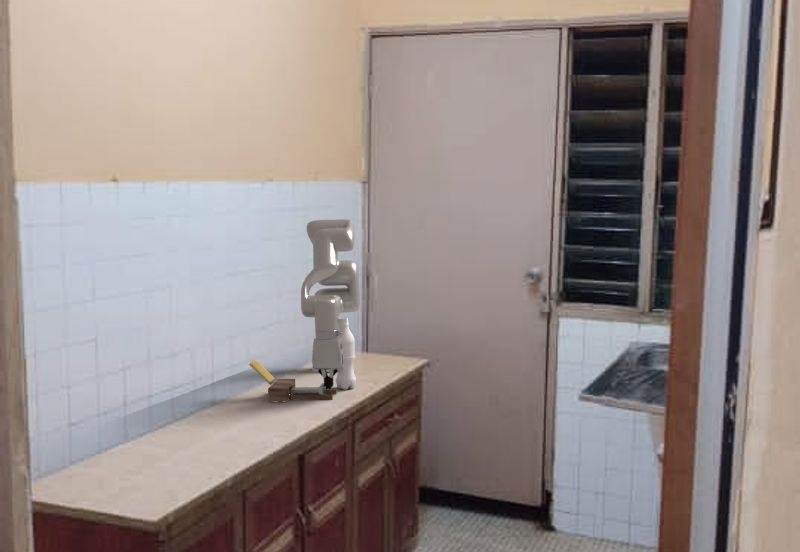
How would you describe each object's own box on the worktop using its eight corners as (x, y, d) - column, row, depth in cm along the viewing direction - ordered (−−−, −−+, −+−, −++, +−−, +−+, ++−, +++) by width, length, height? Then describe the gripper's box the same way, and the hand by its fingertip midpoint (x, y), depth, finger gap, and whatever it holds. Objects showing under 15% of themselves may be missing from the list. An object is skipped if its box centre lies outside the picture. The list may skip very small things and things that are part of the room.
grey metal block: (290, 399, 288) (289, 387, 287) (293, 394, 293) (293, 383, 293) (323, 399, 287) (322, 387, 286) (326, 394, 292) (325, 383, 292)
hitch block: (278, 391, 298) (278, 378, 298) (338, 391, 296) (337, 378, 296) (268, 402, 285) (267, 388, 284) (330, 402, 282) (330, 388, 282)
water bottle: (357, 385, 304) (355, 316, 301) (354, 390, 297) (352, 319, 294) (338, 385, 305) (335, 316, 302) (334, 390, 298) (331, 319, 295)
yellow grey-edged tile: (254, 360, 294) (255, 358, 294) (275, 381, 294) (277, 379, 294) (248, 364, 288) (250, 362, 288) (270, 385, 288) (272, 383, 288)
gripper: (350, 332, 290) (352, 385, 292) (307, 333, 291) (309, 386, 293) (346, 336, 283) (348, 391, 284) (302, 337, 284) (304, 391, 286)
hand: (328, 388), depth 289 cm, fingers closed
